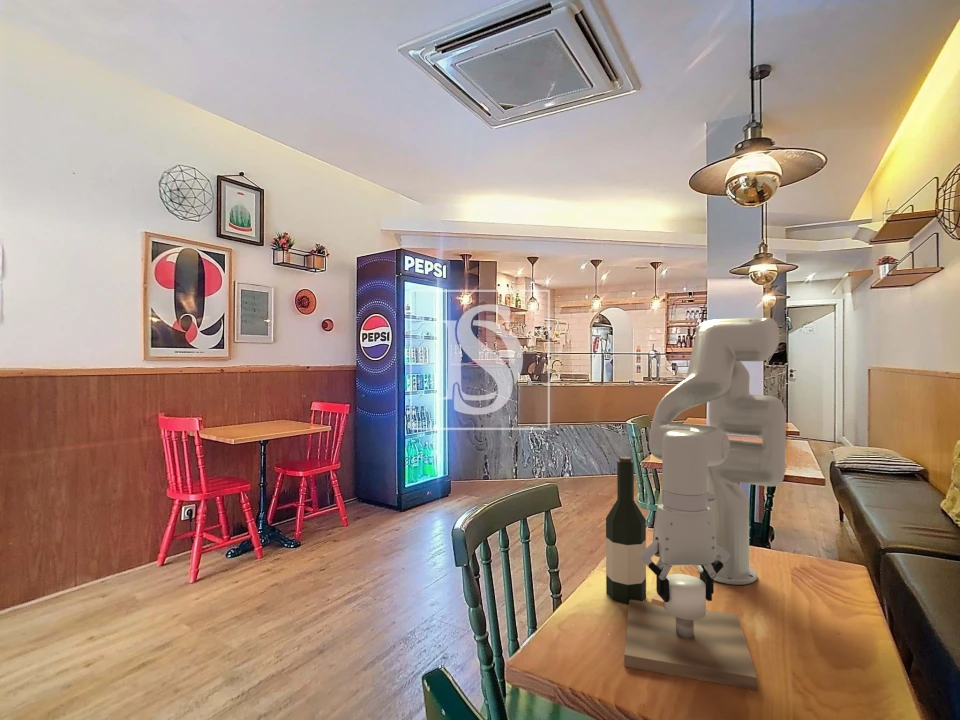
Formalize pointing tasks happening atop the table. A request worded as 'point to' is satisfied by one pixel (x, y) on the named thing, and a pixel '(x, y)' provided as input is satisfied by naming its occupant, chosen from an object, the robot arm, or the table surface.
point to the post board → (688, 645)
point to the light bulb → (684, 597)
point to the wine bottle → (625, 541)
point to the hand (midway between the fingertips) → (684, 597)
